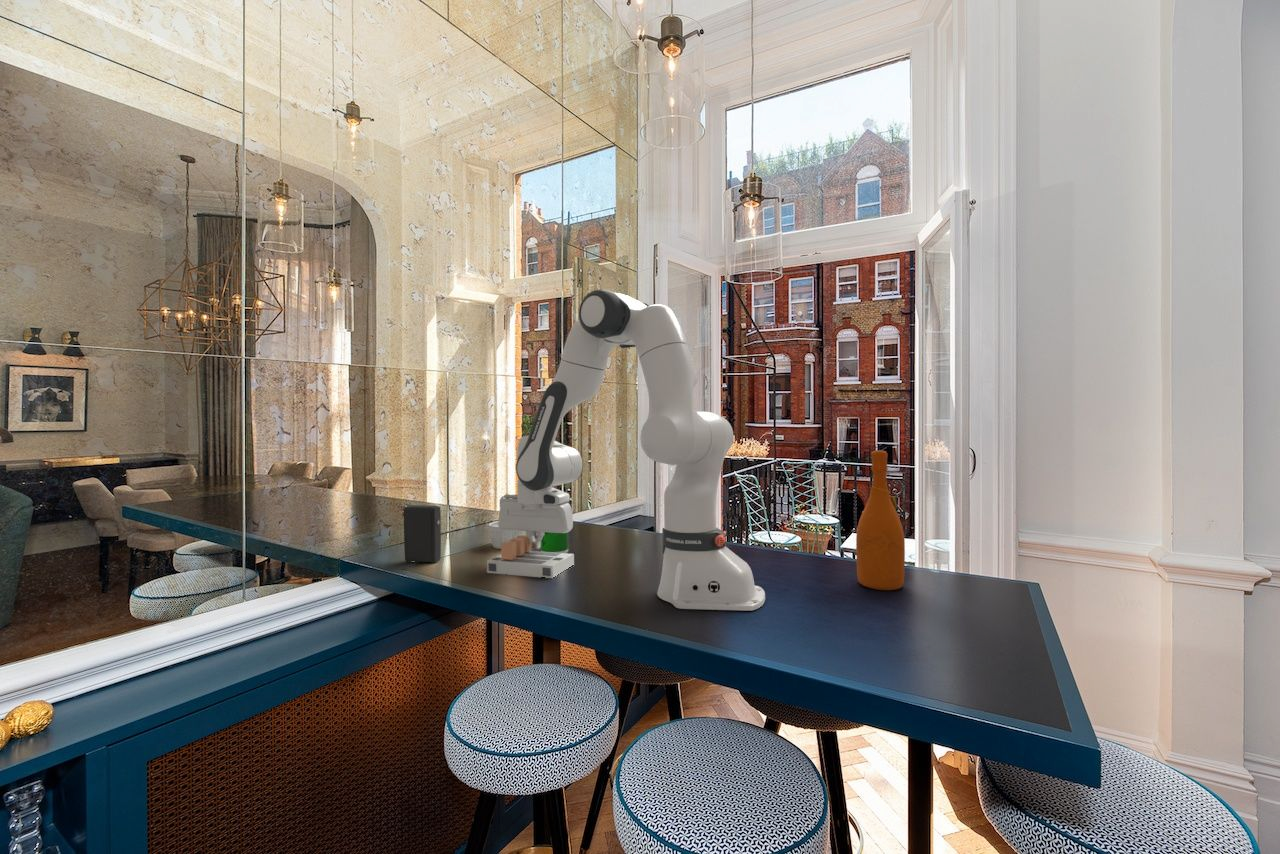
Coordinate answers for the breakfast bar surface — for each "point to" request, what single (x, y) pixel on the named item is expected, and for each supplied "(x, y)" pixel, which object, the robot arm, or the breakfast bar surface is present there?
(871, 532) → the wine bottle
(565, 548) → the soda can
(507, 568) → the white base
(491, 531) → the ramekin
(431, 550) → the card reader
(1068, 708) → the breakfast bar surface
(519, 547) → the slider middle
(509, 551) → the slider near
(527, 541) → the slider far
